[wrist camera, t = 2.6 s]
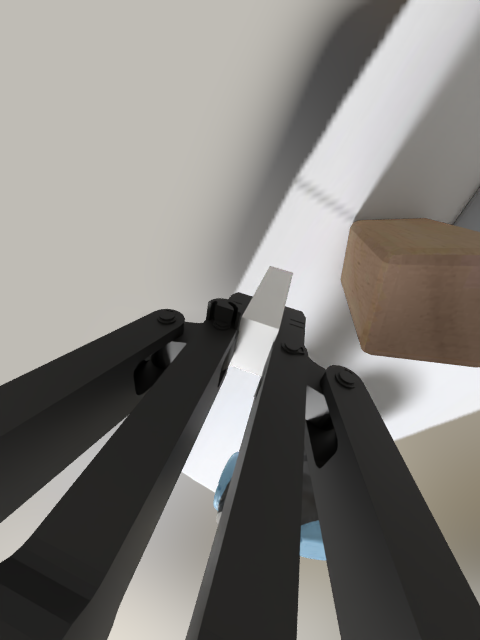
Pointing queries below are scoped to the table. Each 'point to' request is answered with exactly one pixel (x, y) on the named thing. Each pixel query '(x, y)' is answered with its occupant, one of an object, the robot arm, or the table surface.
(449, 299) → the wooden block
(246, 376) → the table surface
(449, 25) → the table surface
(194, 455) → the table surface
